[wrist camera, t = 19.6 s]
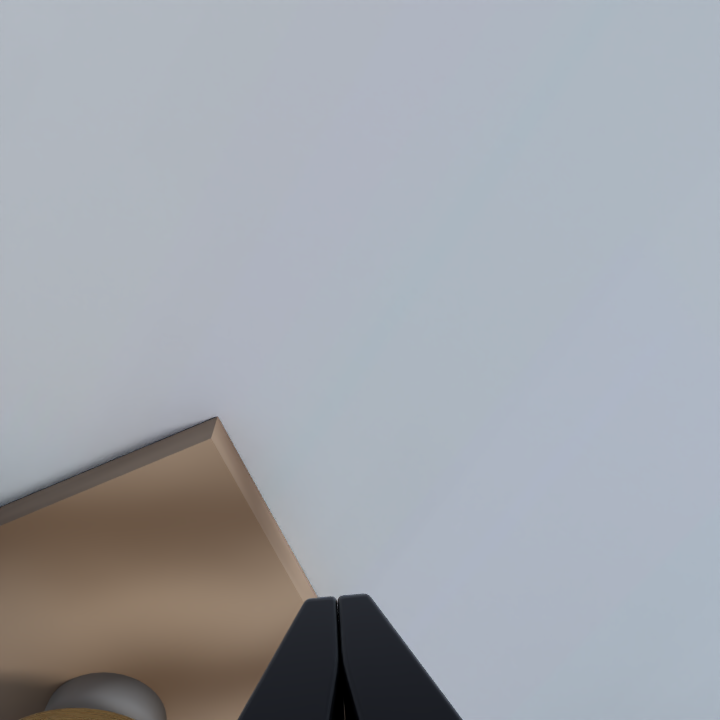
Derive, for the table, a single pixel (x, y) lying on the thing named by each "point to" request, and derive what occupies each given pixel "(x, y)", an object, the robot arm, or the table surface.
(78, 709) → the beige elongated piece
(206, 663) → the base
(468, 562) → the table surface
